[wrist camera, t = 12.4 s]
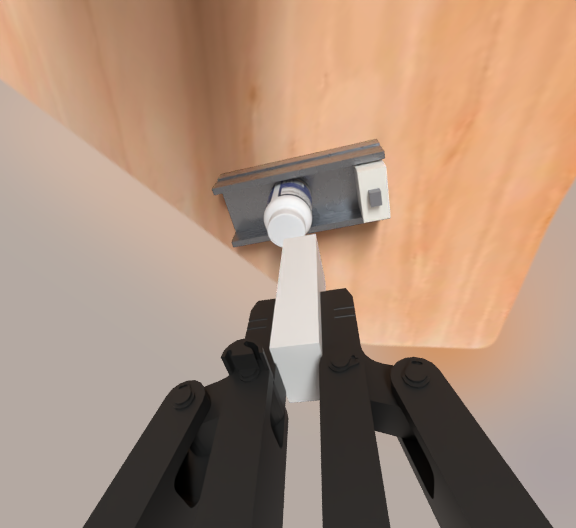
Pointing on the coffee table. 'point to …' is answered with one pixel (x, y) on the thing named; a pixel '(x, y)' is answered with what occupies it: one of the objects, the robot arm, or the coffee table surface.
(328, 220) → the rail
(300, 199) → the pill bottle
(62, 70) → the coffee table surface
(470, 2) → the coffee table surface
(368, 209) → the mounted module
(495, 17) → the coffee table surface
